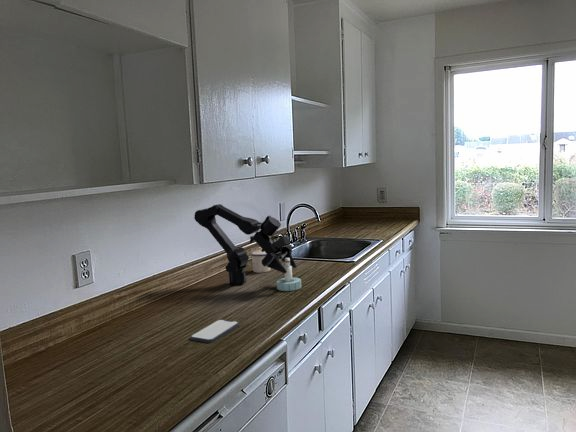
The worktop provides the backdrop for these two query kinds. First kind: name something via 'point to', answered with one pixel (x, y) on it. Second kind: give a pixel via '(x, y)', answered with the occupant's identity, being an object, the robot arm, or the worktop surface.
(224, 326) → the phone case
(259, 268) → the teacup with lid
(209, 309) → the worktop surface
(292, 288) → the pale blue segmented ring
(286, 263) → the white rounded peg
